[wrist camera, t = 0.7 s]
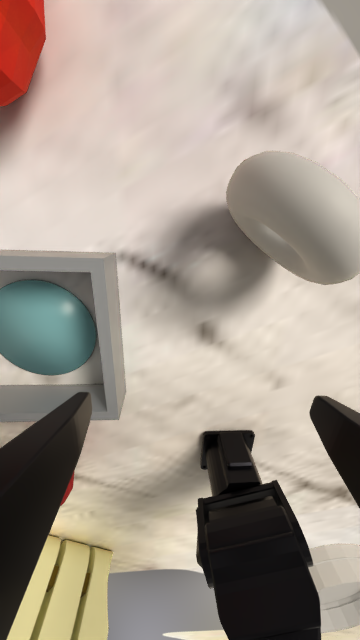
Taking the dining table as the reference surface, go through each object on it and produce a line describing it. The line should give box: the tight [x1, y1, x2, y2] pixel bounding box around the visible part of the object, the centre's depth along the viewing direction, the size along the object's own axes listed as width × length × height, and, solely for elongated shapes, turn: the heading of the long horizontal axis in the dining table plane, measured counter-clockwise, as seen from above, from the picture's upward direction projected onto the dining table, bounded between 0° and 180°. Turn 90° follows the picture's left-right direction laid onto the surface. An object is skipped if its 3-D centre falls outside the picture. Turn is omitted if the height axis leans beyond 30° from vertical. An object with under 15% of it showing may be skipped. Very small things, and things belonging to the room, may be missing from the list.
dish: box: [308, 543, 360, 633], centre depth 43 cm, size 22×22×5 cm
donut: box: [226, 151, 360, 285], centre depth 14 cm, size 10×4×10 cm, turn 51°
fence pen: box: [0, 250, 126, 422], centre depth 20 cm, size 15×15×4 cm
